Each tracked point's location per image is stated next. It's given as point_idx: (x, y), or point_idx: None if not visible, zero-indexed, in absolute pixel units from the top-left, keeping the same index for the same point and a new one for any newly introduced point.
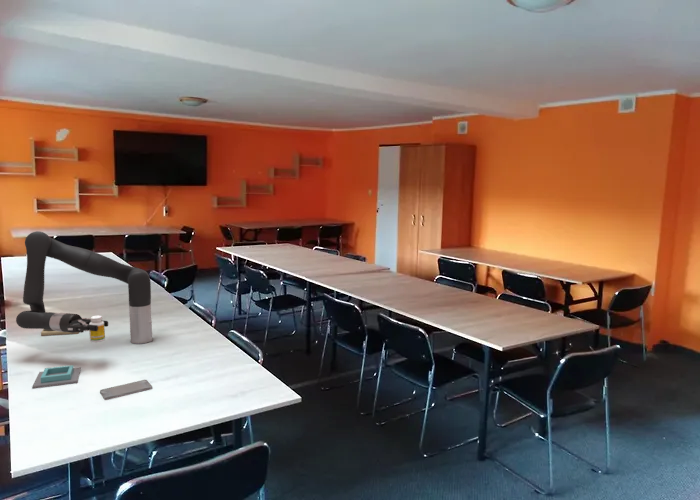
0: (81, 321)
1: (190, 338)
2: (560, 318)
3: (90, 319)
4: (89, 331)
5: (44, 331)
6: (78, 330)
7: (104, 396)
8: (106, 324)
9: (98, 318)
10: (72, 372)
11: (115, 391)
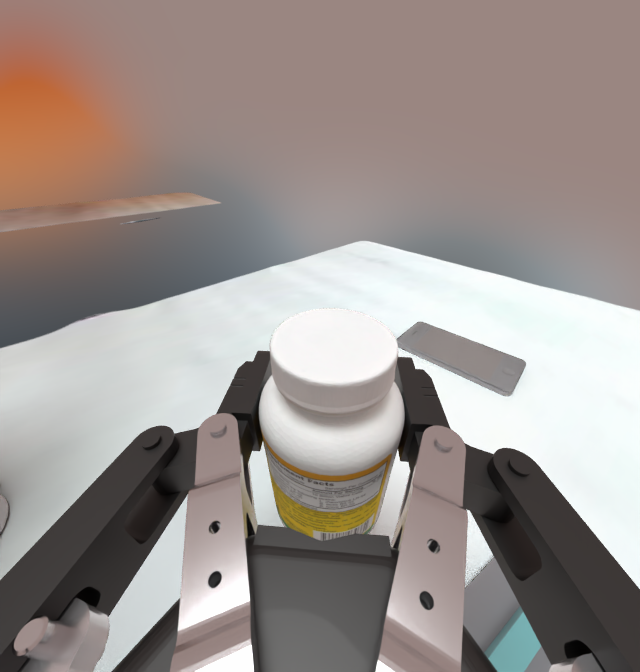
0: (415, 598)
1: (50, 373)
2: (164, 194)
3: (244, 513)
4: (372, 500)
5: None
6: (518, 561)
7: (523, 365)
8: None
9: (361, 316)
10: (510, 620)
11: (486, 359)
